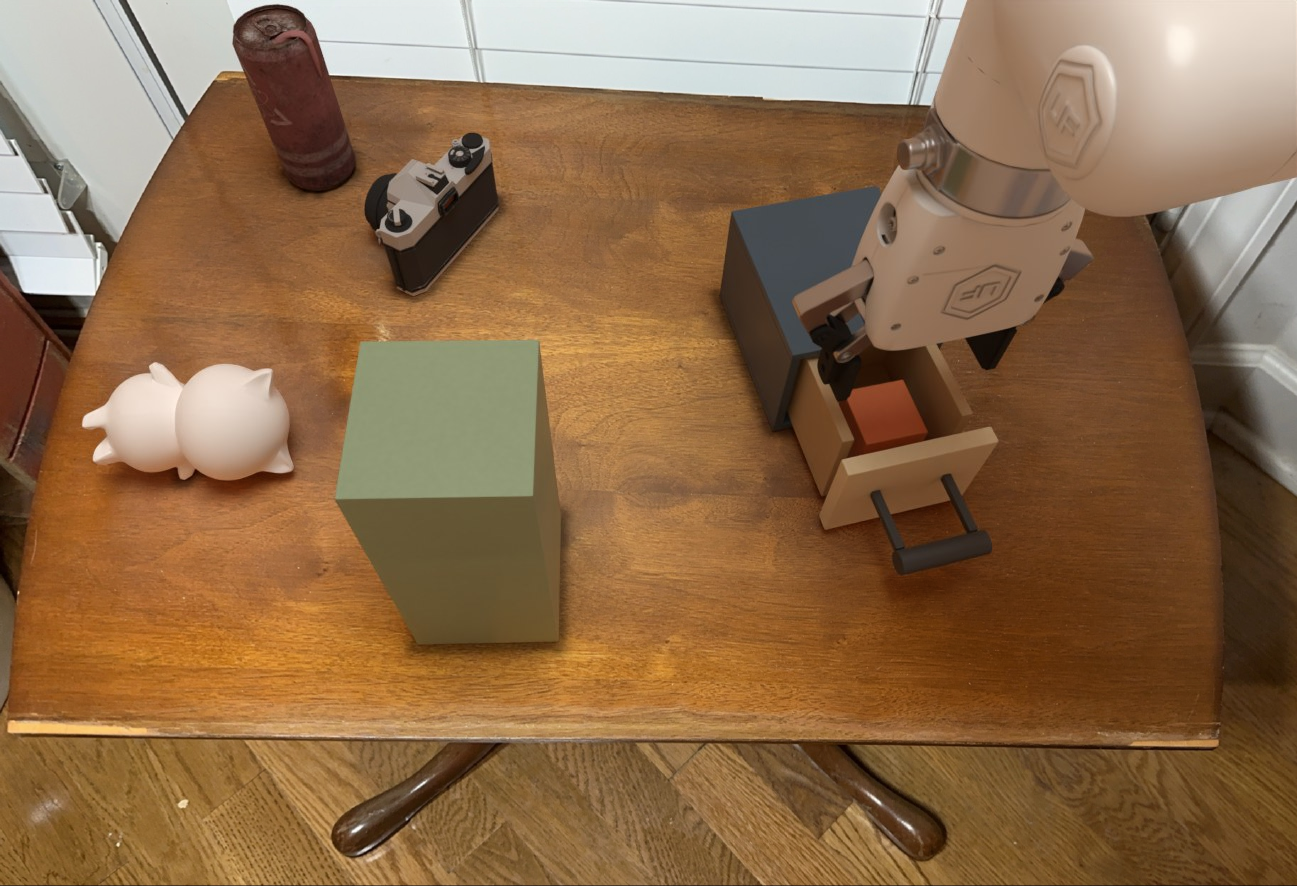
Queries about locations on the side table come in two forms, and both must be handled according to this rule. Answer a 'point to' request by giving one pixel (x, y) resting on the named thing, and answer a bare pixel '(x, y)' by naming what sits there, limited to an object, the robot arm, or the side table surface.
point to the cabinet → (787, 281)
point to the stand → (456, 487)
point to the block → (882, 418)
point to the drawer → (895, 454)
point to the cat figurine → (196, 423)
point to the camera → (433, 211)
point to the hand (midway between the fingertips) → (906, 367)
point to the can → (294, 95)
